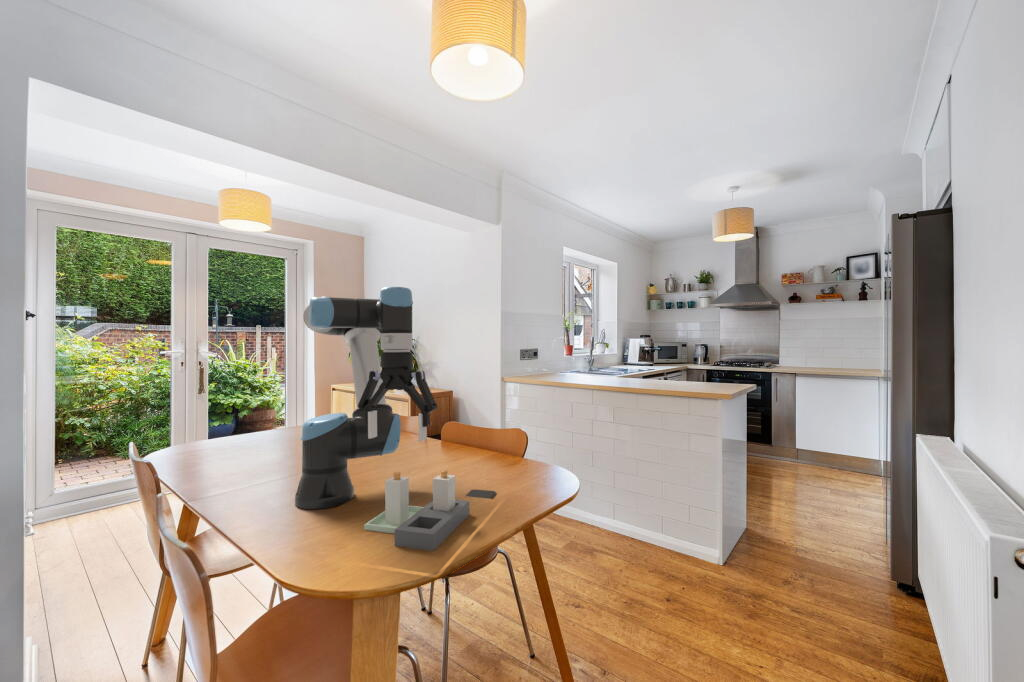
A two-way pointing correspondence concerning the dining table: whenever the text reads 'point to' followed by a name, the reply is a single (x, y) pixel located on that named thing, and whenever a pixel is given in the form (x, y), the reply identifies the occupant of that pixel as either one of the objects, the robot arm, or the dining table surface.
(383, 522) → the tray
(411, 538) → the gray block holder
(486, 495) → the smartphone
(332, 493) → the robot arm
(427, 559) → the dining table surface
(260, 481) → the dining table surface
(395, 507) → the plug
